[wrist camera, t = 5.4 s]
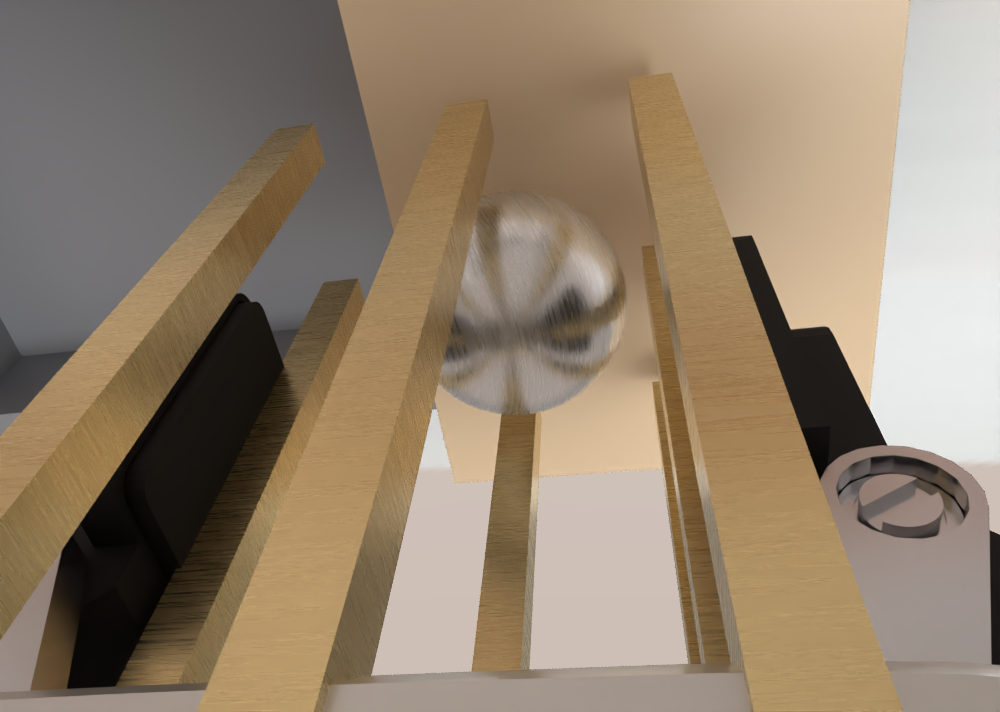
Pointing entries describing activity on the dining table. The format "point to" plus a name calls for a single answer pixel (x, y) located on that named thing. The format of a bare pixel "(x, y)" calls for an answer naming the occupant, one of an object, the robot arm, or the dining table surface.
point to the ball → (533, 306)
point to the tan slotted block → (401, 436)
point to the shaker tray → (166, 160)
